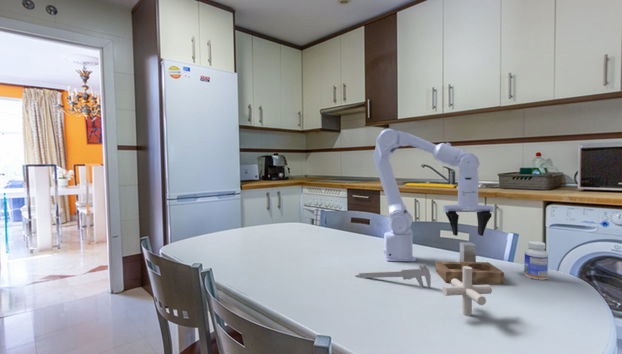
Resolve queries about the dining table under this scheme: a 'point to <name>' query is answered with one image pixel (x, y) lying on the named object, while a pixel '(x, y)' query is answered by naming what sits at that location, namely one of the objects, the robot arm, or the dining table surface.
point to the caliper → (401, 274)
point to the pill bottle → (536, 261)
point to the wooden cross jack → (467, 291)
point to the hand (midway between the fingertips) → (467, 235)
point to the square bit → (467, 252)
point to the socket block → (480, 272)
